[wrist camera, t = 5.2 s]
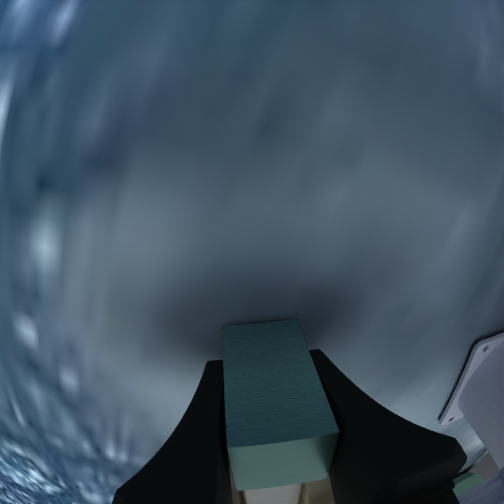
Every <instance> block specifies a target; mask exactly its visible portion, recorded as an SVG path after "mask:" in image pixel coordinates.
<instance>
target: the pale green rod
mask: <svg viewBox="0 0 504 504" xmlns="http://www.w3.org/2000/svg"><path fill="white" fill-rule="evenodd" d="M453 482H454V484H455V488H454V489H453V491H454V493H455V495H456V497H458V496H460V495H462V494H464V493H466V492H467V491H469V490H471V489H473V488H474V487H476V486H478V485H479V484H481V483H483V482H484V480H483V479H482V477H481V476H480V474H479V473H472V472H466V473H464V474H462V475H460V476H458V477H457V478H455V479H453Z"/></svg>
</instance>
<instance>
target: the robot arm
mask: <svg viewBox="0 0 504 504" xmlns="http://www.w3.org/2000/svg"><path fill="white" fill-rule="evenodd" d="M309 353H310V355H311V358H312V360H313V363H314V366H315V368H316V371H317V374H318V376H319V379H320V381H321V384H322V387H323V389H324V392H325V395H326V397H327V400H328V403H329V405H330V408H331V411H332V413H333V416H334V419H335V421H336V424H337V427H338V430H339V436H338V440H337V443H336V447H335V450H334V454H333V457H332V461H331V464H330V467H329V471H328V474H329V478H330V483H331V487H332V492H333V497H334V502H335V504H504V332H503V333H500V334H498V335H495V336H493V337H490V338H487V339H485V340H482V341H479V342H478V343H477V344H476V345H475V346H474V347H473V350H472V352H471V355H470V357H469V359H468V362H467V364H466V367H465V369H464V371H463V374H462V376H461V378H460V380H459V382H458V385H457V387H456V389H455V391H454V393H453V395H452V397H451V399H450V401H449V403H448V405H447V407H446V409H445V411H444V413H443V415H442V416H441V418H440V420H439V423H440V425H441V426H444V425H446V424H448V423H451V422H453V421H455V420H458V419H460V418H462V417H464V416H465V418H466V419H467V421H468V422H469V423H470V425H471V426H472V428H473V429H474V431H475V432H476V434H477V435H478V437H479V438H480V440H481V441H482V443H483V444H484V446H485V447H486V449H487V450H488V452H489V453H490V455H491V456H492V458H493V460H494V461H495V463H496V464H497V466H498V467H499V469H500V471H499V472H498V473H497V474H495V475H494V476H492V477H491V478H489V479H487V480H486V481H484V482H483V483H481V484H479V485H478V486H476V487H474V488H473V489H471V490H469V491H467V492H466V493H464V494H462V495H460V496H458V497H456V495H455V493H454V491H453V489H454V488H455V484H454V482H453V480H452V479H453V478H454V477H455V475H456V474H457V473H458V472H459V471H460V470H461V468H462V467H463V466H464V464H465V463H466V460H467V455H466V454H465V452H464V450H463V449H462V447H461V445H460V444H459V442H458V441H457V440H456V438H454V437H450V436H447V435H444V434H440V433H437V432H434V431H431V430H428V429H426V428H423V427H421V426H419V425H416V424H414V423H412V422H410V421H408V420H406V419H404V418H402V417H400V416H398V415H396V414H395V413H393V412H391V411H390V410H388V409H386V408H385V407H383V406H382V405H380V404H379V403H377V402H376V401H375V400H373V399H372V398H371V397H369V396H368V395H367V394H366V393H364V392H363V391H362V390H361V389H360V388H358V387H357V386H356V385H355V384H354V383H353V382H352V381H351V380H350V379H348V378H347V377H346V376H345V375H344V374H343V373H342V372H341V371H340V370H339V369H338V368H337V367H336V366H335V365H334V364H333V363H332V362H331V361H330V359H329V358H328V357H327V356H326V355H325V354H324V353H323V352H322V351H321V350H320V349H315V350H309ZM112 504H233V497H232V487H231V476H230V459H229V454H228V450H227V437H226V418H225V395H224V369H223V360H212V361H208V362H207V363H206V365H205V369H204V372H203V375H202V378H201V380H200V383H199V385H198V388H197V390H196V392H195V394H194V396H193V399H192V401H191V403H190V405H189V406H188V408H187V410H186V412H185V414H184V415H183V417H182V419H181V421H180V422H179V424H178V425H177V427H176V428H175V430H174V431H173V433H172V434H171V436H170V437H169V438H168V440H167V441H166V442H165V443H164V445H163V446H162V447H161V448H160V450H159V451H158V452H157V453H156V454H155V455H154V457H153V458H152V459H151V460H150V461H149V462H148V463H147V464H146V465H145V466H144V467H143V468H142V469H141V470H140V471H139V472H138V473H137V474H135V475H134V476H133V477H132V478H131V479H129V480H128V481H127V482H126V483H125V484H123V485H122V486H121V487H120V488H118V489H117V490H116V493H115V495H114V498H113V501H112Z"/></svg>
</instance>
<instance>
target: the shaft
mask: <svg viewBox="0 0 504 504" xmlns="http://www.w3.org/2000/svg"><path fill="white" fill-rule="evenodd" d="M222 338H223V369H224V395H225V418H226V437H227V450H228V454H229V459H230V463H231V468H232V472H233V476H234V481H235V485H236V489H237V491H241V490H245V495H246V501H247V504H298V500H299V495H300V489H301V484H302V483H305V482H310V481H316V480H321V479H326V477H327V474H328V471H329V467H330V464H331V461H332V457H333V454H334V450H335V447H336V443H337V440H338V436H339V430H338V427H337V424H336V421H335V419H334V416H333V413H332V411H331V408H330V405H329V403H328V400H327V397H326V395H325V392H324V389H323V387H322V384H321V381H320V379H319V376H318V374H317V371H316V368H315V366H314V363H313V360H312V358H311V355H310V353H309V350H308V347H307V345H306V342H305V340H304V337H303V334H302V332H301V329H300V327H299V324H298V322H297V319H291V320H282V321H273V322H263V323H252V324H241V325H229V326H222Z"/></svg>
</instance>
